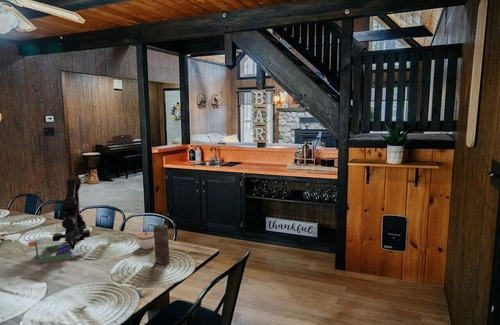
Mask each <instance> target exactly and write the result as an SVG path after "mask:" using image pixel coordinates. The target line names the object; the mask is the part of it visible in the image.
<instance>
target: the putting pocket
mask: <svg viewBox="0 0 500 325" xmlns="http://www.w3.org/2000/svg"><path fill="white" fill-rule="evenodd" d="M27 245H28V247H29V248H30V247H35V255H34V257H33V258H34V259H38V264H43V263H48V262H57V261H62V260H69V259H70V260H71V259H72V253H70V254H62V255H56V254H55V256H52V255H49V256H46V255H47V252H52V251H57V247H58V246H60V245H69V247H70V249H72V248H71V246H70V244H69V243H63V244H55V245H47V246H44V247H43V249H42V251H41V253H40V254H39V251H38V242H37V241H31V242H27Z"/></svg>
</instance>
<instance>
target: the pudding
mask: <svg viewBox="0 0 500 325" xmlns="http://www.w3.org/2000/svg"><path fill="white" fill-rule="evenodd" d="M59 245H60V246H58V247H57V250H55V252H54V253H52V254H51V256H55V255H62V254H70V253H71V256H73V255H75V254H76V250H75V249H74V250H72V248H70V247H69V245H61V244H59Z"/></svg>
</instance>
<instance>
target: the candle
mask: <svg viewBox="0 0 500 325" xmlns="http://www.w3.org/2000/svg"><path fill="white" fill-rule="evenodd" d="M152 228H153V232H154V257H155V262H156V263H157V264H160V265H165V264H168V263H169V262H170V259H171V258H170V257H171V256H170V247H169V243H170V242H169V230H168V225H167V224H163V225H162V224H157V225H153V227H152ZM164 263H165V264H164Z"/></svg>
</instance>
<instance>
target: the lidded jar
mask: <svg viewBox="0 0 500 325" xmlns="http://www.w3.org/2000/svg"><path fill="white" fill-rule="evenodd" d="M136 241H137V244H138V246H139V247H140V248H141V249H142V250H149V249H151V248H153V246H155V243H154V231H143V232H139V233H138V234H136Z"/></svg>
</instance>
